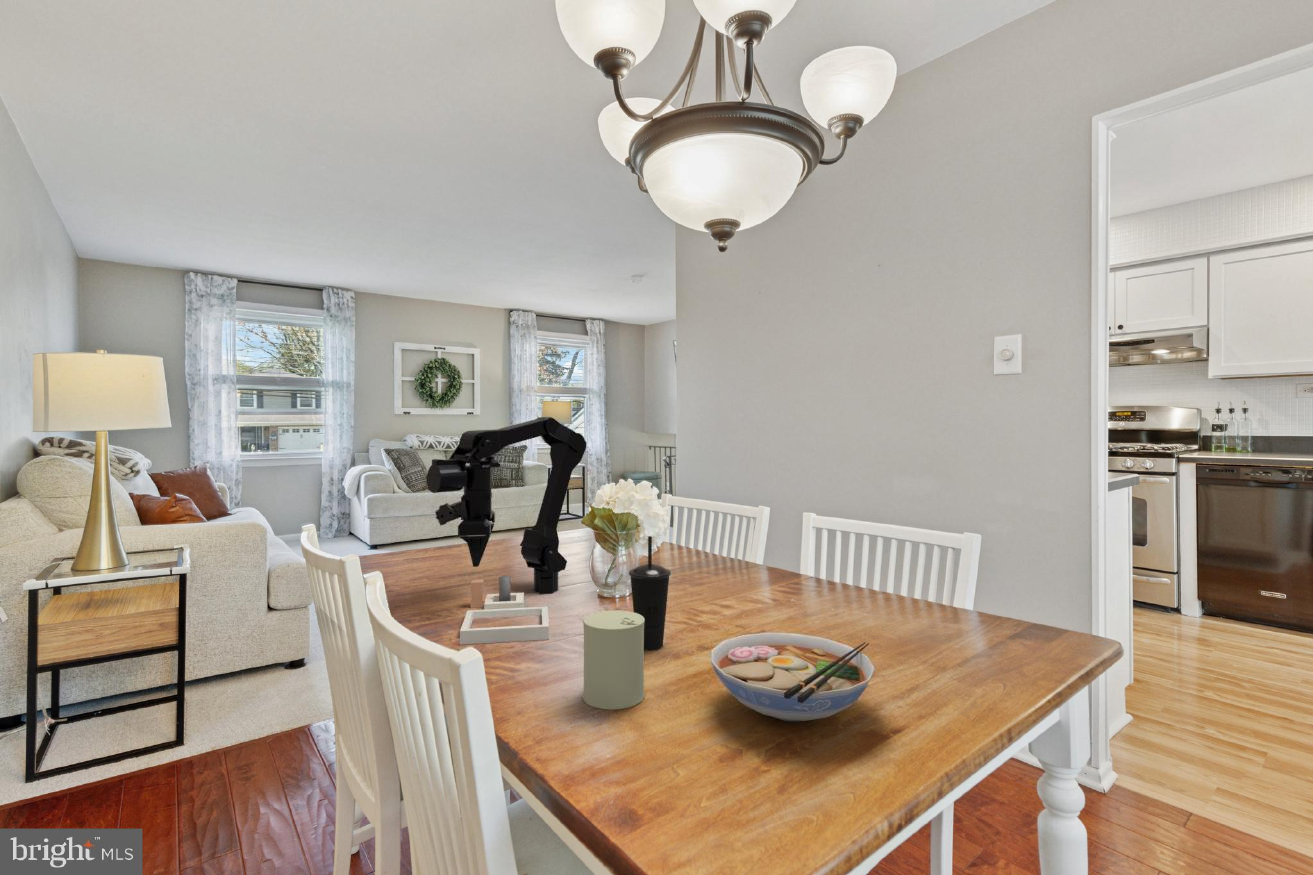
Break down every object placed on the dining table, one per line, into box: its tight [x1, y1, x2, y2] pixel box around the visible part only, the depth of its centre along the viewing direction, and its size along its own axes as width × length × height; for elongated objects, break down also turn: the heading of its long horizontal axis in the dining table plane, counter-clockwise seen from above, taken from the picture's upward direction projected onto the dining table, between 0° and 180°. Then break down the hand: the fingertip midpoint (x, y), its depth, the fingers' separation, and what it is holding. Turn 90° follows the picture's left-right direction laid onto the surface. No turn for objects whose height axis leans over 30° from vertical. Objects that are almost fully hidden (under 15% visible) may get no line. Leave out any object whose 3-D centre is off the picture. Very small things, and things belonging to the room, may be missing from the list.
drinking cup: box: [628, 535, 672, 651], centre depth 115 cm, size 8×8×20 cm
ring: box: [470, 578, 525, 610], centre depth 136 cm, size 8×11×5 cm
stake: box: [481, 575, 527, 610], centre depth 136 cm, size 9×9×7 cm
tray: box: [459, 606, 550, 646], centre depth 123 cm, size 13×16×2 cm
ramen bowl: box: [710, 632, 876, 722], centre depth 89 cm, size 25×23×8 cm
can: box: [582, 609, 646, 711], centre depth 94 cm, size 9×9×12 cm
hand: (477, 561), depth 135 cm, fingers open, 9 cm apart
